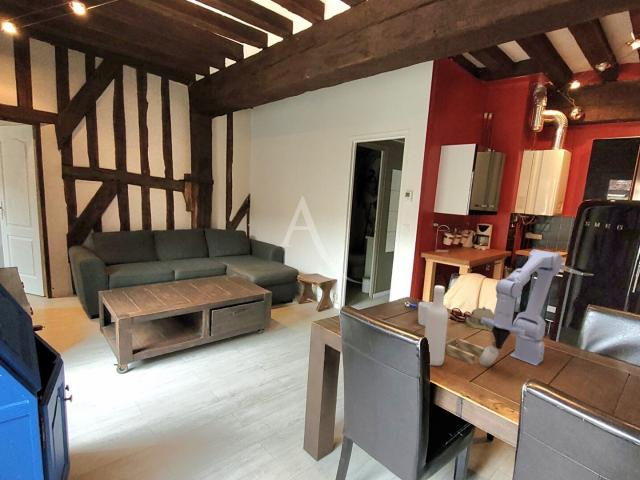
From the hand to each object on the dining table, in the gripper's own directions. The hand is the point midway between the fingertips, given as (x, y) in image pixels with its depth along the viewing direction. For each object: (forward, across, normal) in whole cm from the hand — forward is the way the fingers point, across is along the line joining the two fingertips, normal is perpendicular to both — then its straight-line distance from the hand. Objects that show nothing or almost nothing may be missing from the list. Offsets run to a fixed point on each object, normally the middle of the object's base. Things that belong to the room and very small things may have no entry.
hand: (498, 347), depth 122 cm
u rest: (+9, -14, +3) cm, 17 cm away
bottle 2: (+8, -5, +2) cm, 10 cm away
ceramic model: (+6, -22, +38) cm, 45 cm away
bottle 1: (+10, -18, -12) cm, 24 cm away
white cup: (+8, -41, +18) cm, 45 cm away
